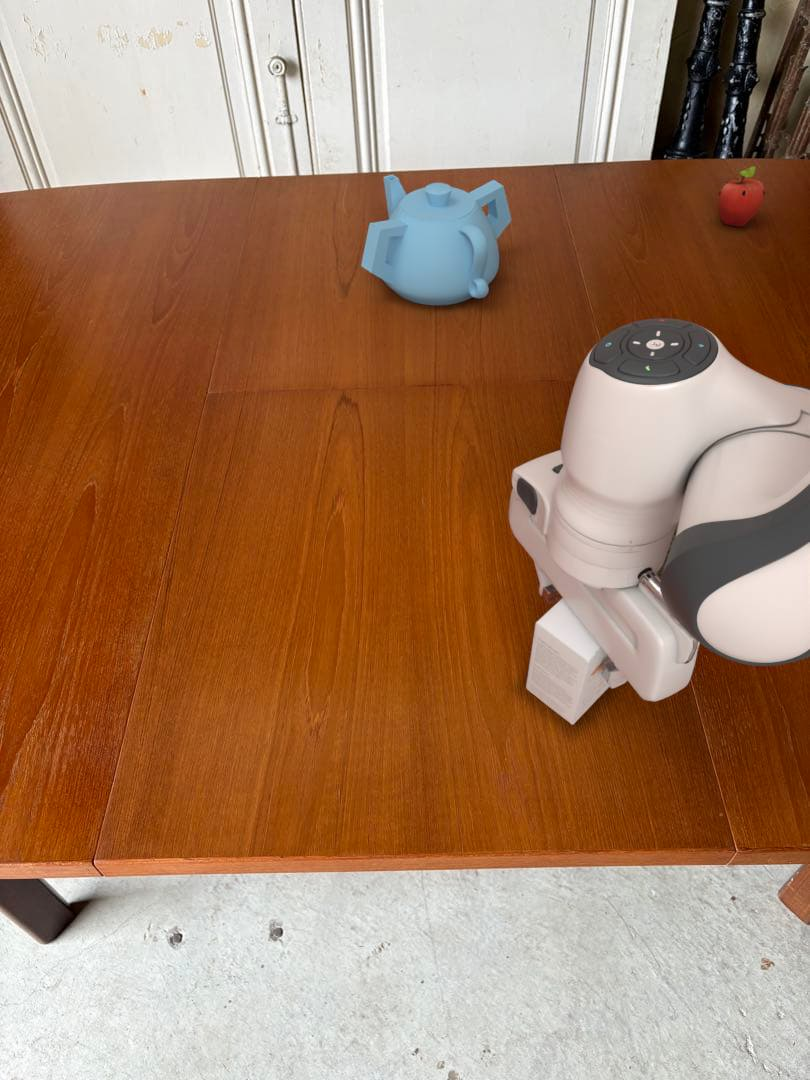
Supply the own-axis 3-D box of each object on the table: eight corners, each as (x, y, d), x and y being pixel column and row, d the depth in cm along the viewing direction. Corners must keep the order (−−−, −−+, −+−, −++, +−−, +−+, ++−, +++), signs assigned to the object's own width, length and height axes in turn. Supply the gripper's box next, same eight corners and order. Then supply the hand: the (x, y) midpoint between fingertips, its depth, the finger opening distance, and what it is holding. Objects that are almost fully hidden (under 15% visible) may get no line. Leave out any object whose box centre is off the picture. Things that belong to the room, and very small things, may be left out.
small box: (577, 637, 78) (593, 566, 70) (626, 672, 75) (648, 603, 67) (522, 689, 74) (533, 621, 66) (572, 728, 71) (589, 661, 63)
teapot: (509, 253, 125) (515, 162, 115) (489, 323, 113) (494, 228, 103) (389, 242, 129) (384, 153, 118) (356, 309, 116) (348, 216, 106)
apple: (705, 214, 132) (721, 151, 124) (746, 211, 132) (764, 148, 125) (722, 237, 127) (740, 173, 119) (765, 234, 127) (785, 170, 120)
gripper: (741, 615, 54) (689, 719, 64) (567, 432, 66) (548, 544, 76) (664, 651, 52) (623, 752, 62) (500, 457, 64) (489, 568, 75)
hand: (581, 636), depth 69 cm, fingers open, 8 cm apart
